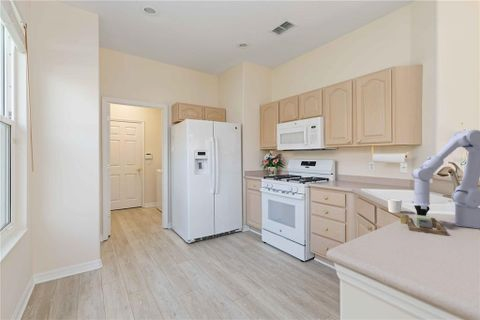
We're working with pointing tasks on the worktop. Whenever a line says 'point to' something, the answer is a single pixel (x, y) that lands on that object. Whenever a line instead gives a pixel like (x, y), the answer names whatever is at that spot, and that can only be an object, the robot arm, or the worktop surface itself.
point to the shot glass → (394, 205)
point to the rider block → (420, 217)
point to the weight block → (425, 224)
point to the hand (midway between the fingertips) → (421, 220)
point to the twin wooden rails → (426, 230)
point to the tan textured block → (402, 218)
